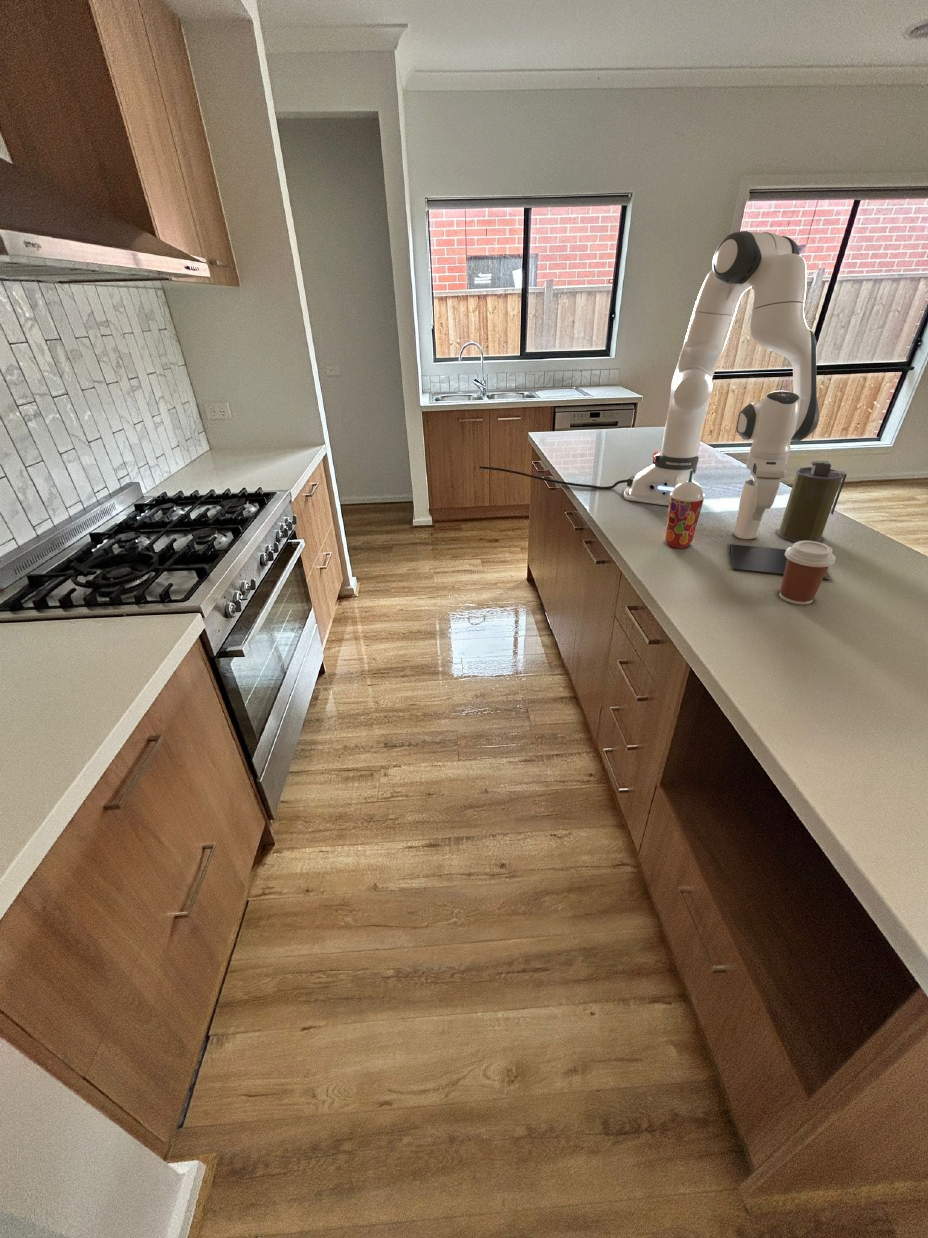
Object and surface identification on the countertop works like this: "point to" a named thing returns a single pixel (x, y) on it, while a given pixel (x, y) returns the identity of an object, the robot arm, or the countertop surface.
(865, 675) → the countertop surface
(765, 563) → the place mat
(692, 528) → the smoothie
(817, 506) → the canister
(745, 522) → the white tapered cylinder
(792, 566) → the coffee cup
